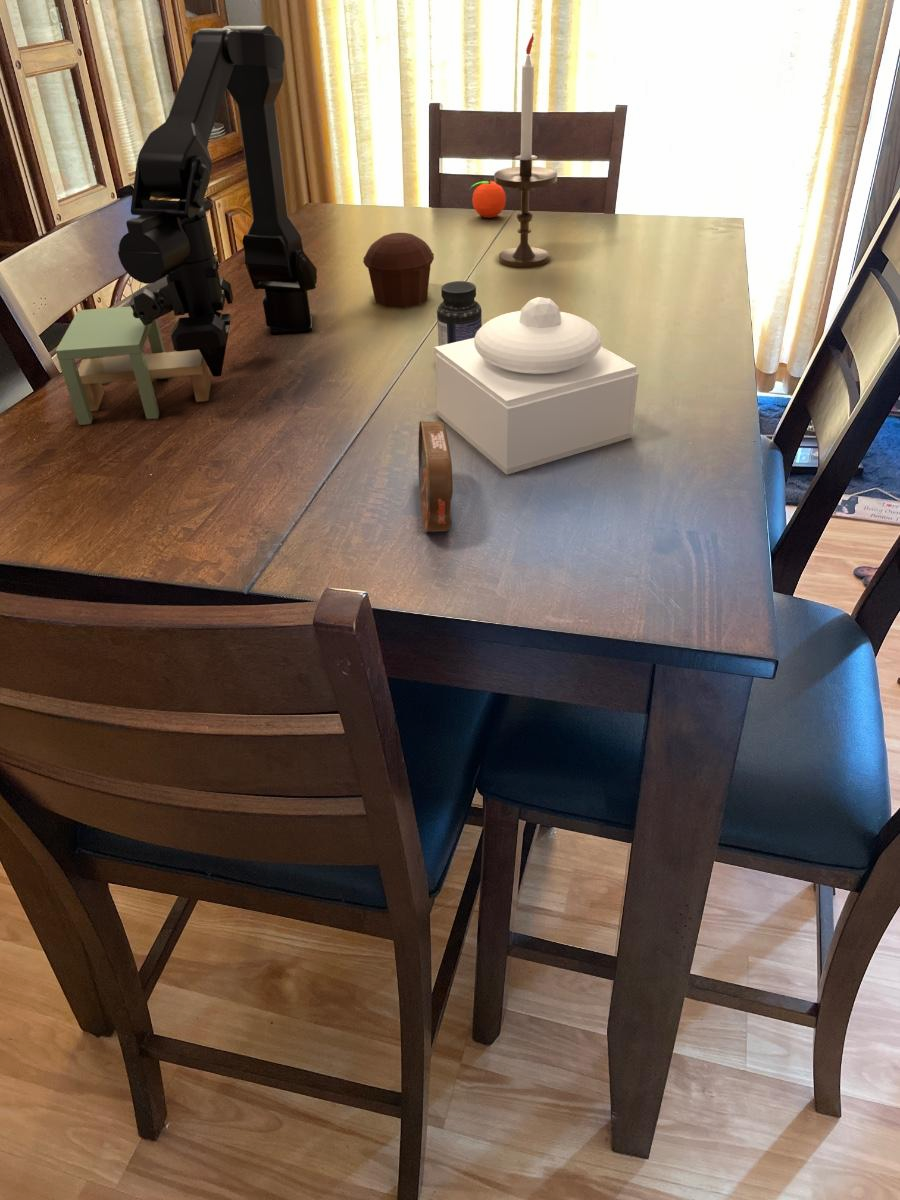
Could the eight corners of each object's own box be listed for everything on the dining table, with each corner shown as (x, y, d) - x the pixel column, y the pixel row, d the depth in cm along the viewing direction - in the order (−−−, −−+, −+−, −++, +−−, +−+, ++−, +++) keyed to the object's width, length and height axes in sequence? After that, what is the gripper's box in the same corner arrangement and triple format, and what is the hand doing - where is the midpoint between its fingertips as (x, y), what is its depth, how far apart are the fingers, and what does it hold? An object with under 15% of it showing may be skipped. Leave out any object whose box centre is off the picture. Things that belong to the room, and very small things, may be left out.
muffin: (394, 316, 140) (390, 251, 134) (352, 299, 147) (346, 237, 140) (449, 297, 146) (448, 234, 140) (407, 282, 153) (404, 221, 147)
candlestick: (563, 255, 162) (575, 29, 140) (536, 272, 155) (543, 37, 133) (512, 247, 166) (515, 27, 145) (483, 263, 159) (481, 35, 138)
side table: (170, 374, 125) (153, 304, 119) (158, 418, 114) (139, 344, 108) (98, 380, 124) (77, 310, 118) (79, 425, 113) (55, 350, 107)
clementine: (465, 221, 181) (464, 184, 176) (470, 212, 186) (469, 176, 182) (503, 222, 180) (504, 184, 175) (507, 212, 185) (508, 176, 181)
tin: (417, 474, 101) (413, 406, 96) (445, 472, 101) (442, 405, 96) (426, 549, 89) (421, 476, 84) (457, 546, 89) (454, 474, 84)
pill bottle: (487, 358, 126) (487, 281, 119) (474, 375, 122) (473, 296, 115) (447, 354, 128) (444, 277, 121) (432, 370, 123) (429, 292, 116)
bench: (211, 383, 122) (203, 349, 119) (208, 400, 118) (200, 365, 115) (92, 393, 121) (82, 359, 117) (85, 411, 116) (74, 376, 113)
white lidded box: (506, 475, 100) (508, 340, 90) (435, 413, 113) (430, 289, 103) (632, 437, 106) (646, 307, 96) (551, 383, 119) (556, 263, 109)
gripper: (135, 241, 116) (164, 354, 125) (112, 287, 101) (147, 412, 111) (221, 233, 117) (243, 347, 126) (210, 278, 102) (237, 402, 112)
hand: (217, 375), depth 119 cm, fingers closed, pressing on bench
